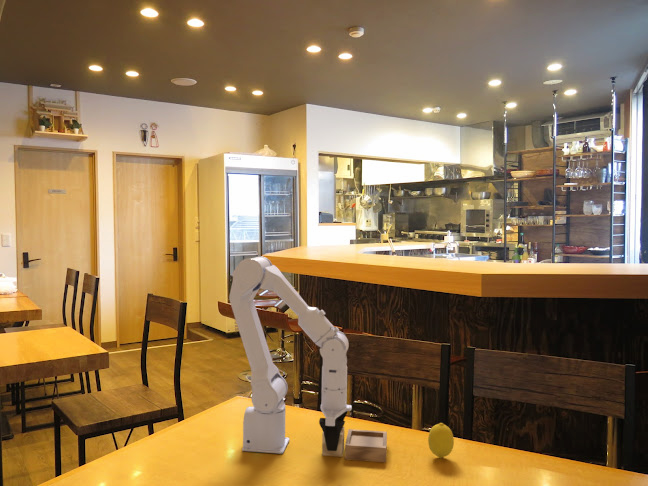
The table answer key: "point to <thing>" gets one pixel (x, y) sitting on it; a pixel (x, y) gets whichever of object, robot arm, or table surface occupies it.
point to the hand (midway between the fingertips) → (333, 445)
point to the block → (339, 449)
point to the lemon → (440, 440)
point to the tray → (366, 445)
